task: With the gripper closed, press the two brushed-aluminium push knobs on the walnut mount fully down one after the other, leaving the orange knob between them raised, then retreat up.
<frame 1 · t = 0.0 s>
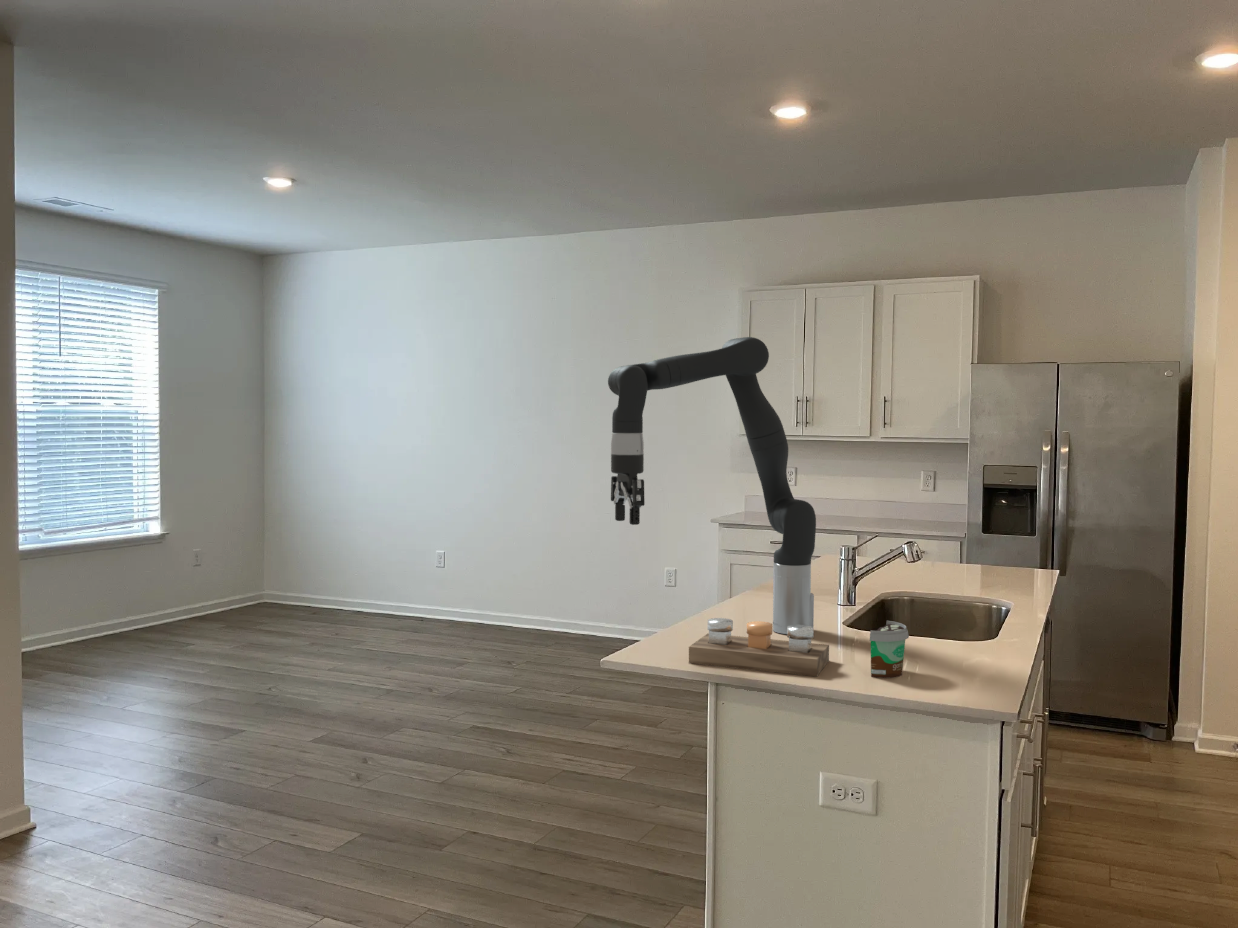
hand: (627, 522, 226), 29 cm above the counter, fingers open, 8 cm apart
knob b: (800, 639, 212), point 6 cm above the counter, slide at 2.5 cm
knob mount: (759, 661, 215), on the counter
knob a: (720, 631, 218), point 6 cm above the counter, slide at 2.5 cm
knob mid: (759, 635, 215), point 6 cm above the counter, slide at 2.5 cm
food container: (892, 674, 206), on the counter
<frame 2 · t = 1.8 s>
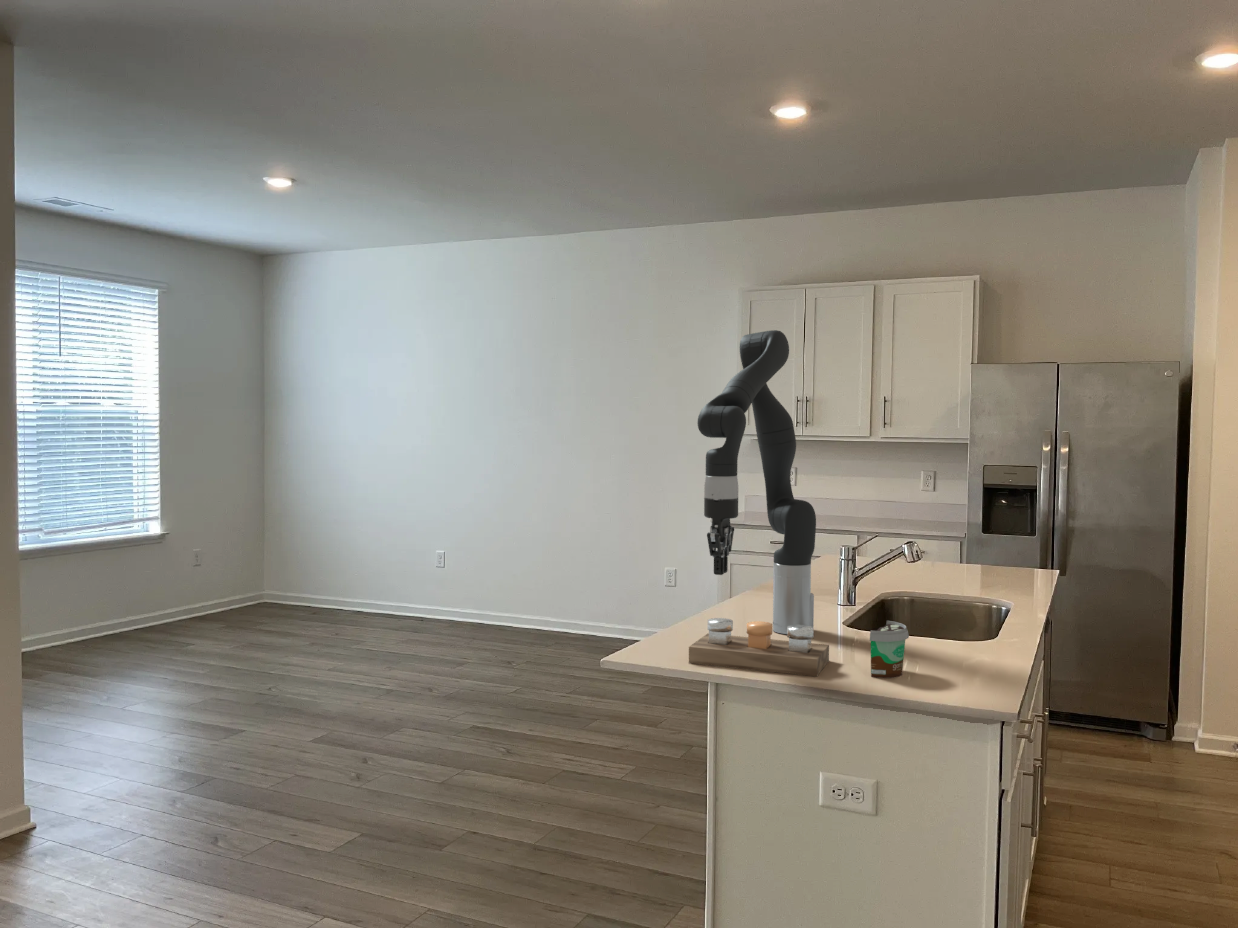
hand: (720, 573, 218), 19 cm above the counter, fingers closed
nothing on the counter moved.
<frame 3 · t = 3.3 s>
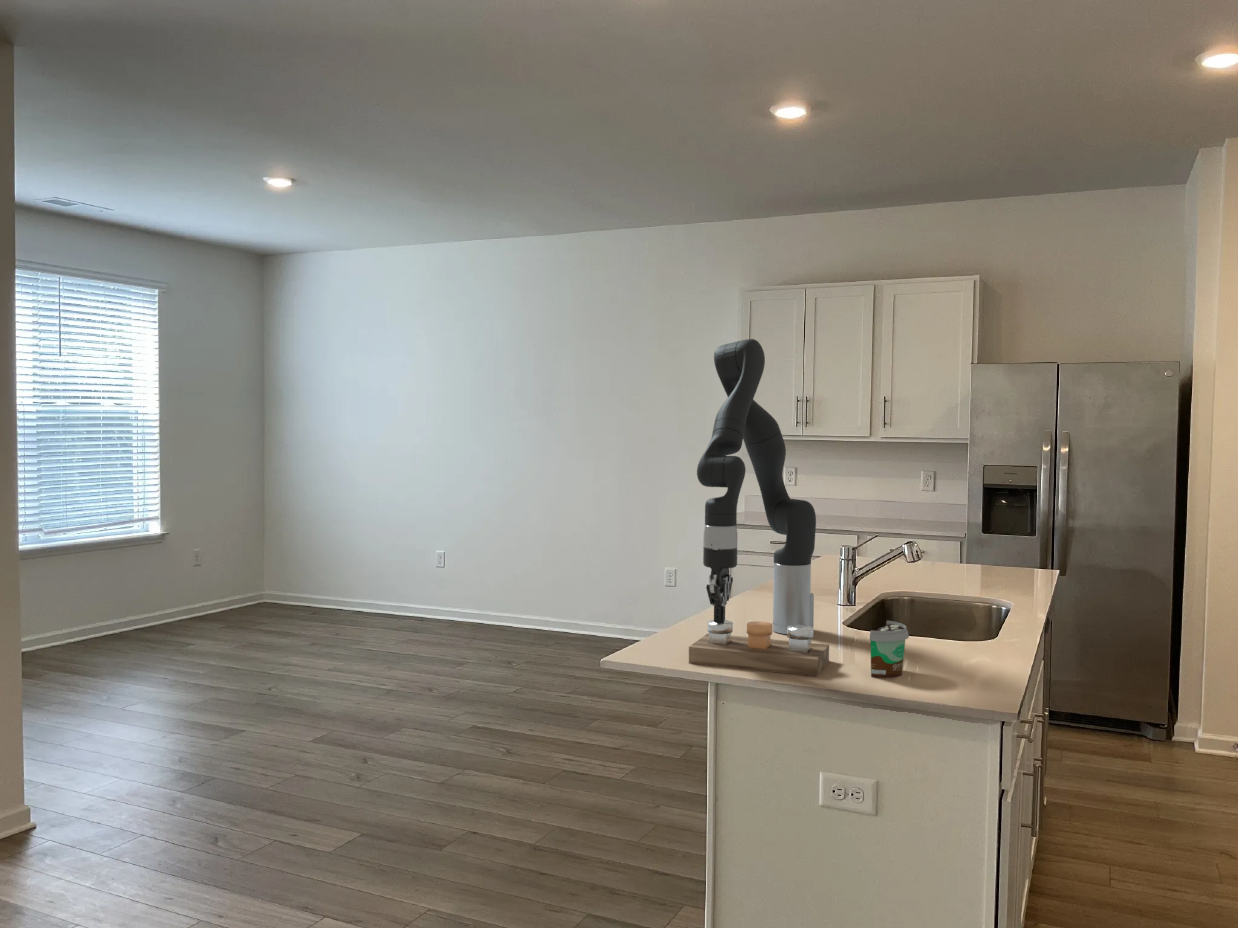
hand: (719, 622, 218), 8 cm above the counter, fingers closed
knob a: (720, 633, 219), point 5 cm above the counter, slide at 2.1 cm, touching gripper
everything else where it was.
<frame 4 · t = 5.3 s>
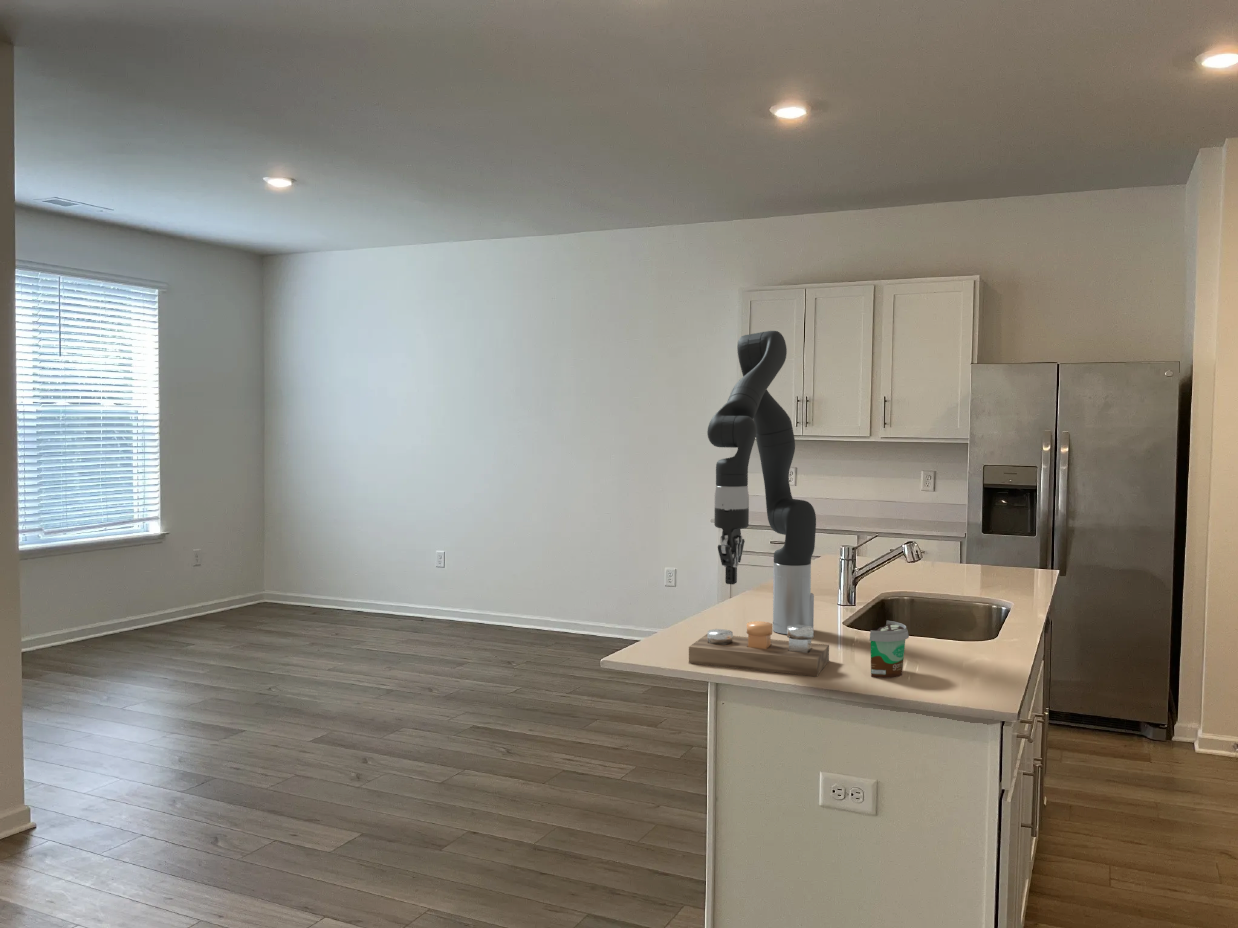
hand: (731, 583, 217), 17 cm above the counter, fingers closed
knob a: (719, 642, 219), point 3 cm above the counter, slide at -0.1 cm
everything else where it was.
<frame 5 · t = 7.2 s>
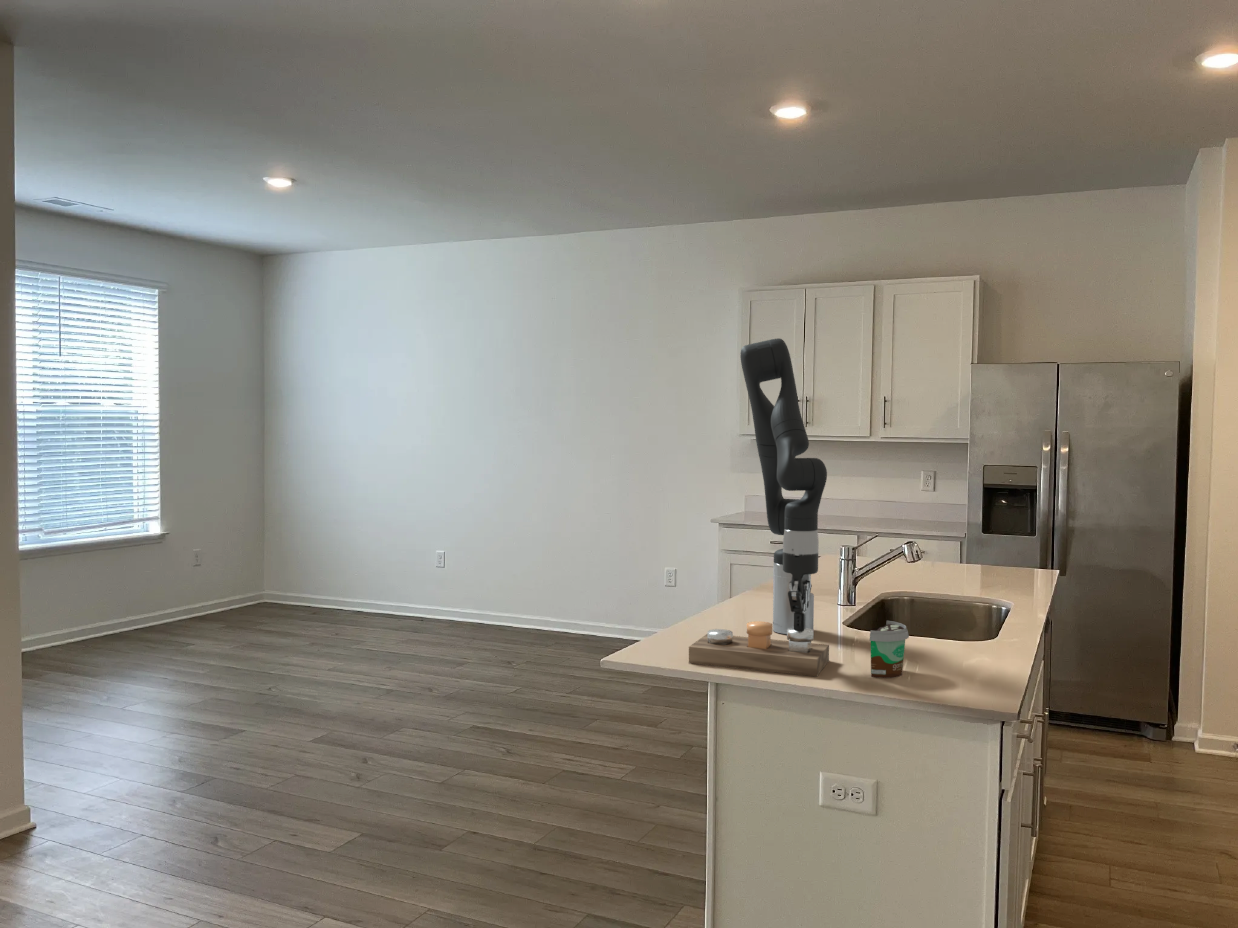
hand: (799, 629, 211), 8 cm above the counter, fingers closed
knob b: (800, 641, 212), point 5 cm above the counter, slide at 2.0 cm, touching gripper
everything else where it was.
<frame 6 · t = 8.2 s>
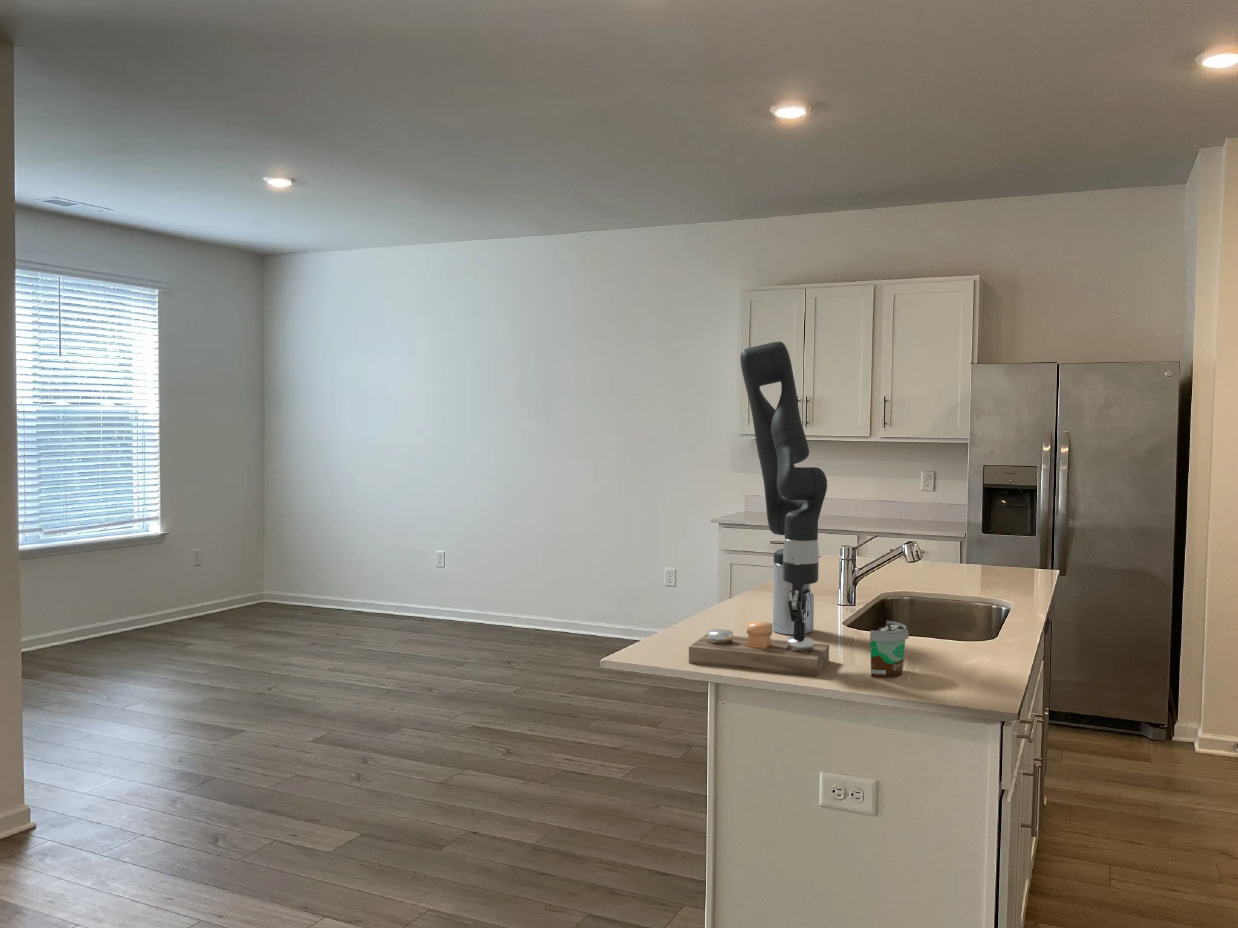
hand: (799, 639, 212), 6 cm above the counter, fingers closed
knob b: (800, 650, 212), point 3 cm above the counter, slide at -0.1 cm
everything else where it was.
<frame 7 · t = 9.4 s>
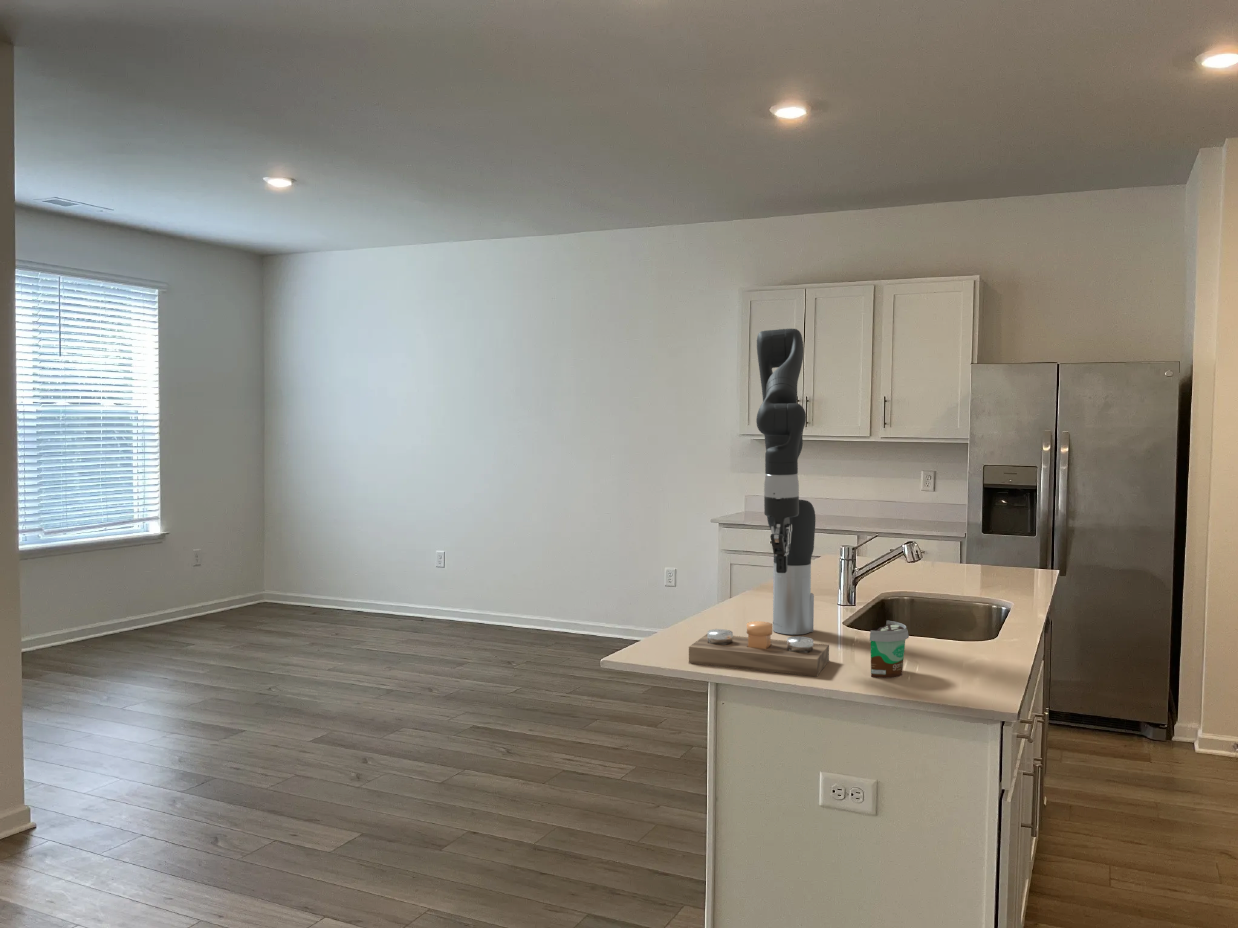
hand: (781, 572, 216), 20 cm above the counter, fingers closed
nothing on the counter moved.
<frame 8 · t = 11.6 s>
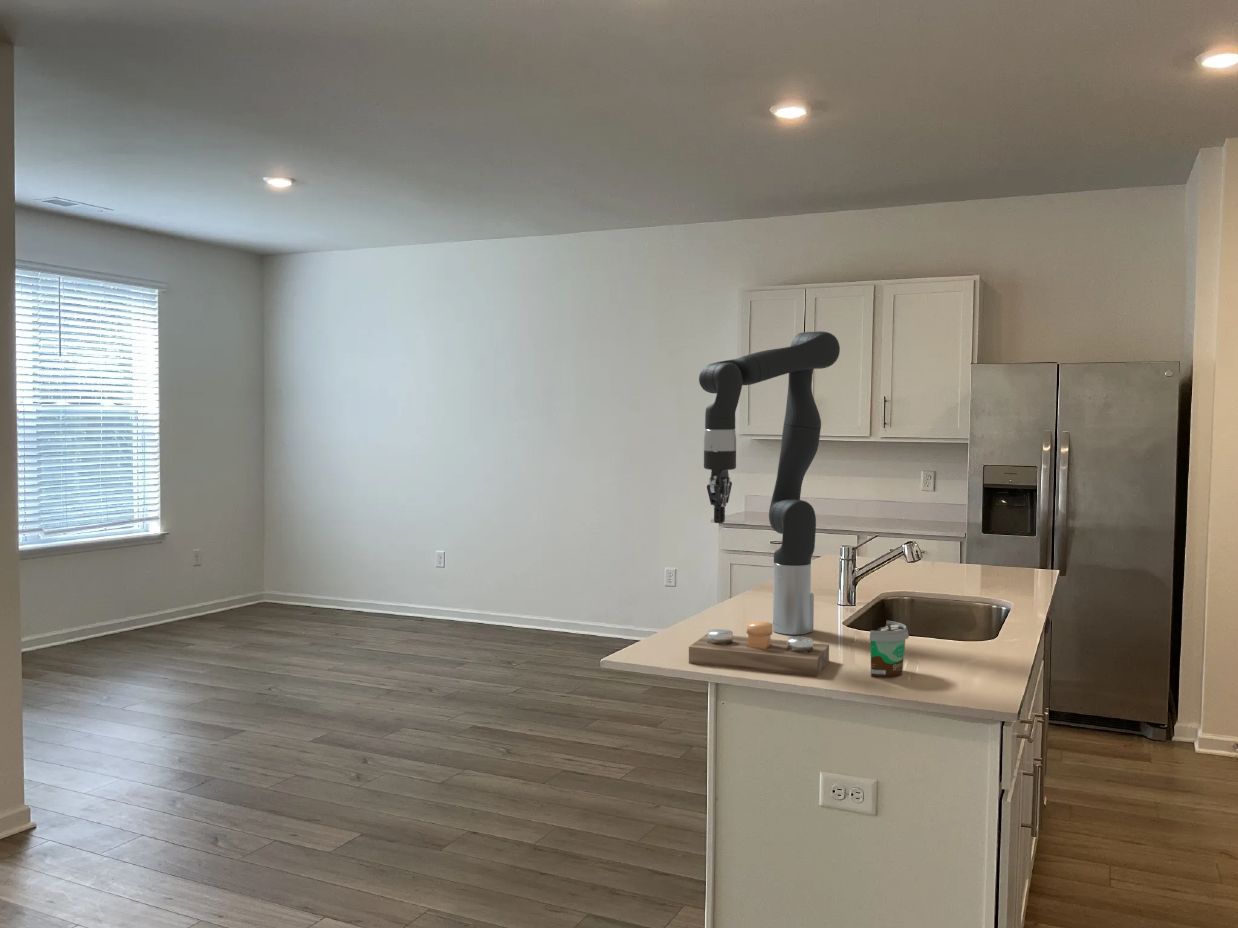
hand: (719, 522, 229), 29 cm above the counter, fingers closed
nothing on the counter moved.
at the end: knob a slide at -0.1 cm; knob b slide at -0.1 cm; knob mid slide at 2.5 cm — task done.
